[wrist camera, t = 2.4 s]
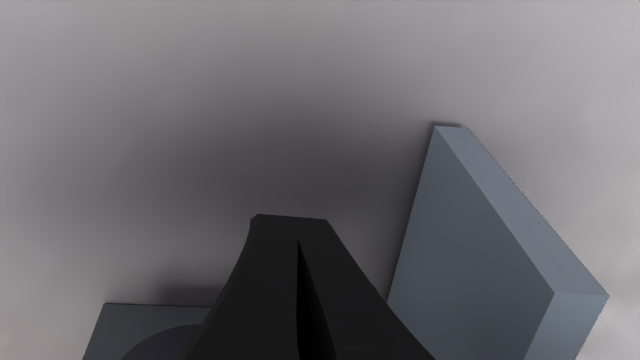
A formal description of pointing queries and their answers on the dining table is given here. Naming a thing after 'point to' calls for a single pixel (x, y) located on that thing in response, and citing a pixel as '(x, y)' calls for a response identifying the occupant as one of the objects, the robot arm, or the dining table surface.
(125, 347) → the box
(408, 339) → the robot arm
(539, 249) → the side door
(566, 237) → the dining table surface
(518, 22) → the dining table surface
